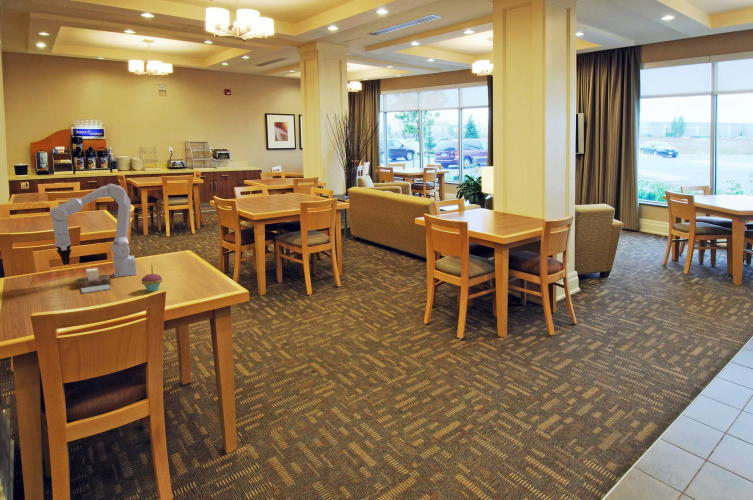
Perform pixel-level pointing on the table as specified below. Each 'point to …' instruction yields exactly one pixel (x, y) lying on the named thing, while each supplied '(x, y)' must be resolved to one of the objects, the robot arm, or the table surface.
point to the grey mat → (95, 289)
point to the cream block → (92, 274)
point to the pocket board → (93, 282)
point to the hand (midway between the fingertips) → (66, 262)
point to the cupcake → (152, 281)
